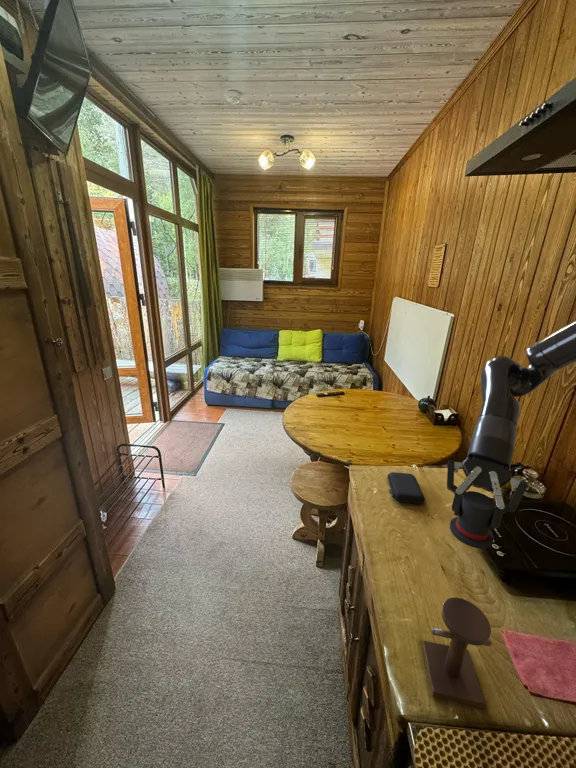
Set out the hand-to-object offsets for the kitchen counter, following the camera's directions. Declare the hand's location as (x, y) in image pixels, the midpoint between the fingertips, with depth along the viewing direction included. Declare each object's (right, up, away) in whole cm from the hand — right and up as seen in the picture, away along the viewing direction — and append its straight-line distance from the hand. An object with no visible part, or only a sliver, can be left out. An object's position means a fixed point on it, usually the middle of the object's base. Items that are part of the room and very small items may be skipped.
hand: (473, 521), depth 59 cm
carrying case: (+3, -10, +45) cm, 46 cm away
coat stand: (-7, -25, -4) cm, 27 cm away
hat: (+1, -4, +3) cm, 5 cm away
